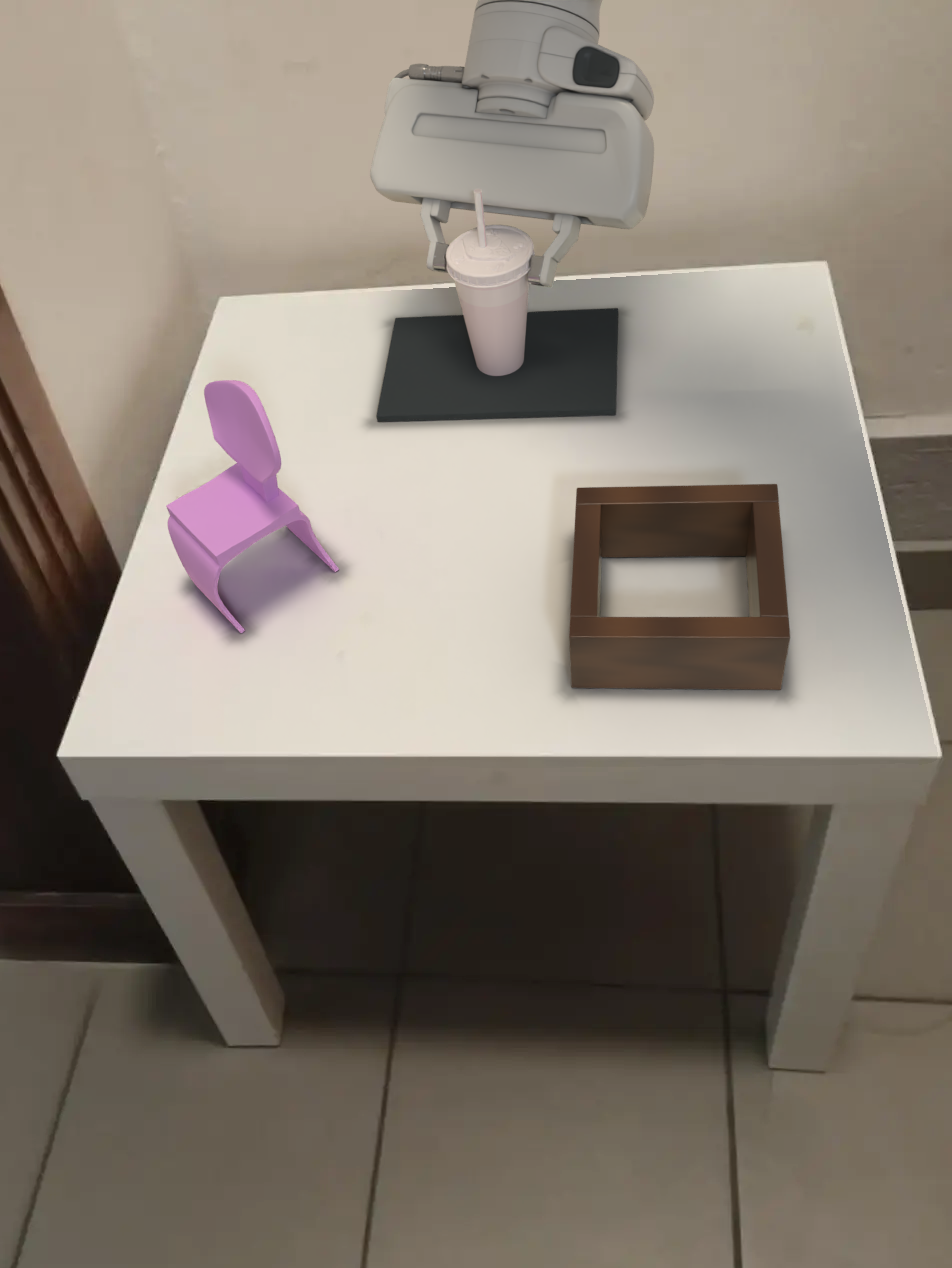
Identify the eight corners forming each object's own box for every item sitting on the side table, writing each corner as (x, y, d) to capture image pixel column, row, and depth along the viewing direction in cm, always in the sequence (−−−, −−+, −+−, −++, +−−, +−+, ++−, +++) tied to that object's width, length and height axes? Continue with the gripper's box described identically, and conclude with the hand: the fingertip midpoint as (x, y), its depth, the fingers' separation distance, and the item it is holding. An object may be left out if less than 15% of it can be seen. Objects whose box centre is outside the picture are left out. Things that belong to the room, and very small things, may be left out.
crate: (769, 538, 81) (777, 483, 77) (780, 690, 74) (790, 637, 70) (578, 540, 83) (576, 487, 79) (571, 688, 76) (569, 637, 72)
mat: (618, 313, 97) (618, 307, 96) (615, 415, 90) (615, 408, 90) (396, 323, 100) (394, 317, 100) (377, 422, 93) (375, 416, 93)
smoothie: (492, 325, 97) (475, 158, 86) (558, 350, 94) (549, 180, 83) (442, 370, 95) (418, 204, 84) (508, 397, 92) (493, 230, 81)
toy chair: (180, 579, 86) (110, 413, 74) (282, 516, 89) (230, 345, 76) (242, 646, 82) (178, 481, 70) (348, 577, 84) (303, 406, 72)
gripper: (375, 45, 86) (341, 250, 89) (660, 66, 79) (613, 287, 82) (409, 76, 91) (376, 268, 94) (677, 98, 85) (632, 304, 88)
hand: (488, 277), depth 88 cm, fingers closed on smoothie, 6 cm apart
